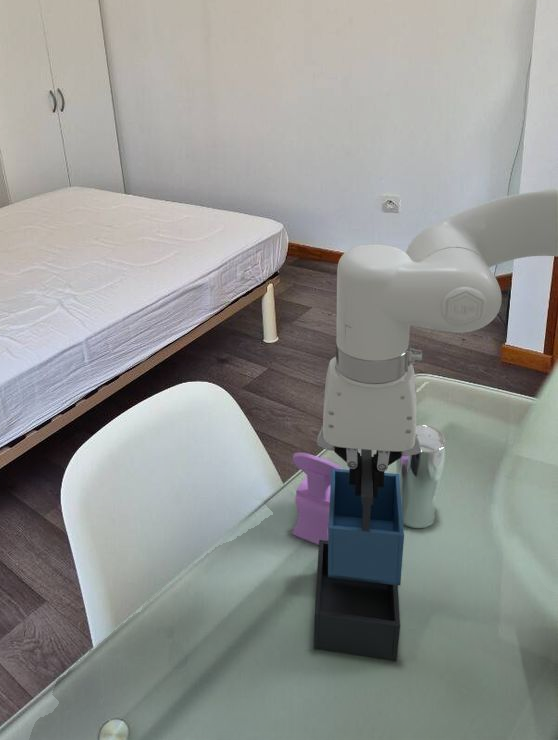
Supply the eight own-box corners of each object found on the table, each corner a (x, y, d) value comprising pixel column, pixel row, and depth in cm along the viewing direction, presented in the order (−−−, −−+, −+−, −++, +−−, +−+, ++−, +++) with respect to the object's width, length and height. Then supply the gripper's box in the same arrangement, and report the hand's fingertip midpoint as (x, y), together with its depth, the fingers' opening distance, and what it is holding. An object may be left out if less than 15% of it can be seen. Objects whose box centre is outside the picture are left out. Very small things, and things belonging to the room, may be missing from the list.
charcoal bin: (392, 583, 96) (395, 548, 93) (396, 662, 86) (400, 626, 83) (318, 573, 99) (319, 539, 96) (313, 649, 88) (314, 613, 85)
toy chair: (358, 514, 108) (362, 438, 102) (336, 552, 102) (339, 473, 95) (309, 496, 113) (310, 421, 106) (285, 531, 106) (285, 454, 100)
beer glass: (391, 527, 105) (398, 450, 99) (390, 496, 111) (396, 421, 105) (439, 533, 104) (450, 455, 97) (436, 501, 110) (445, 425, 103)
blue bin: (396, 521, 90) (401, 440, 84) (400, 585, 81) (406, 500, 75) (330, 514, 92) (331, 435, 86) (327, 577, 83) (328, 493, 77)
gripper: (443, 343, 76) (431, 473, 84) (301, 337, 80) (302, 462, 88) (451, 380, 69) (437, 518, 77) (296, 373, 73) (298, 504, 81)
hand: (365, 487), depth 82 cm, fingers closed on blue bin, 1 cm apart
